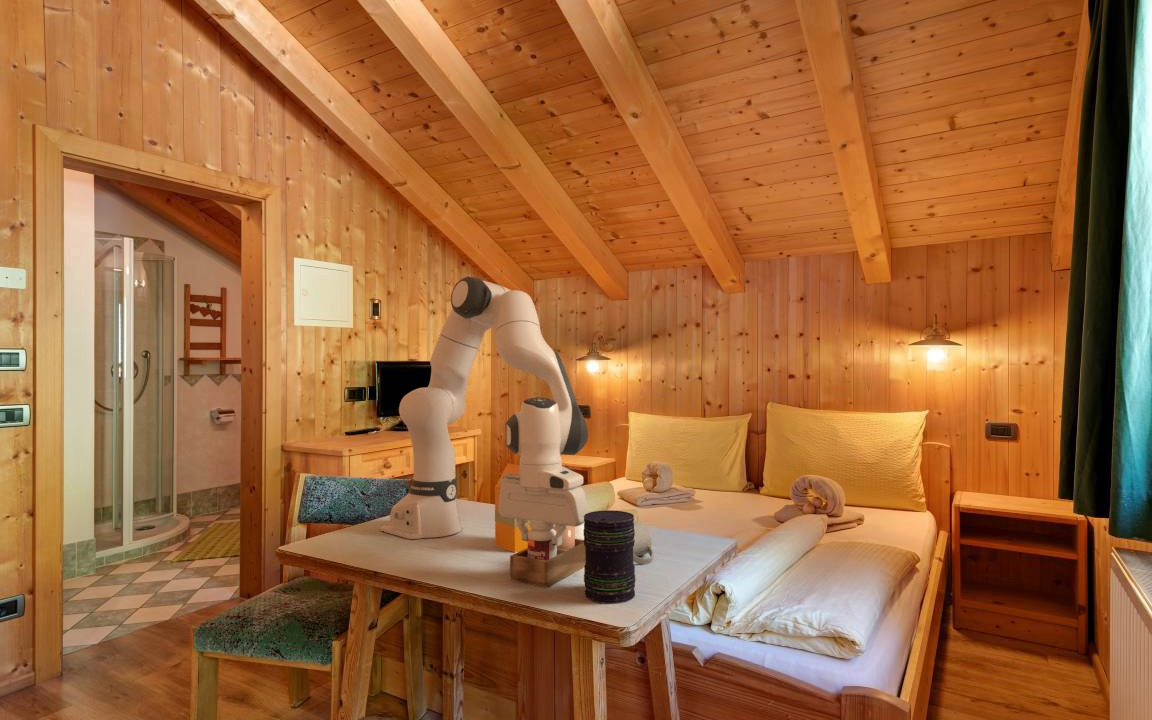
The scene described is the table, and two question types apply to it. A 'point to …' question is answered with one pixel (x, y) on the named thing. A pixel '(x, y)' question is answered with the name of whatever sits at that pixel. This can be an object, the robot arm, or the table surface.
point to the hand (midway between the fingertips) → (541, 542)
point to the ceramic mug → (642, 543)
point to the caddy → (547, 566)
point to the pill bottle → (541, 540)
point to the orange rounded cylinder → (567, 538)
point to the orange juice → (508, 521)
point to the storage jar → (609, 556)
